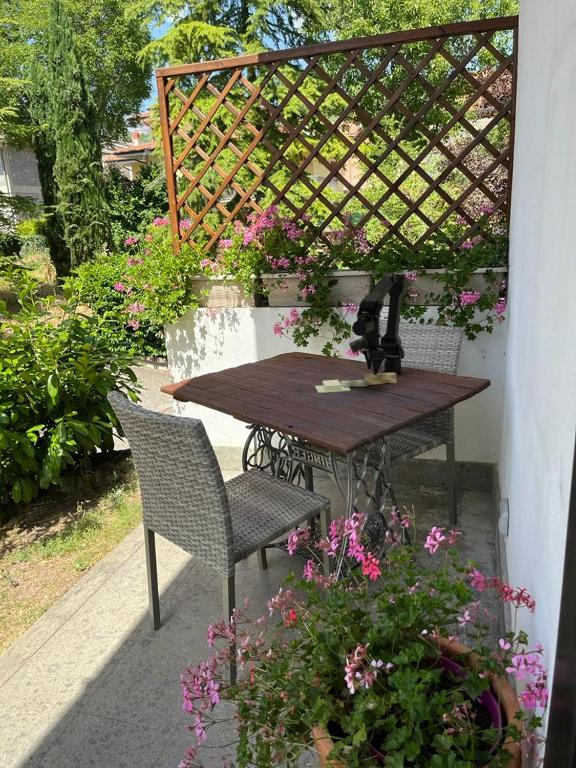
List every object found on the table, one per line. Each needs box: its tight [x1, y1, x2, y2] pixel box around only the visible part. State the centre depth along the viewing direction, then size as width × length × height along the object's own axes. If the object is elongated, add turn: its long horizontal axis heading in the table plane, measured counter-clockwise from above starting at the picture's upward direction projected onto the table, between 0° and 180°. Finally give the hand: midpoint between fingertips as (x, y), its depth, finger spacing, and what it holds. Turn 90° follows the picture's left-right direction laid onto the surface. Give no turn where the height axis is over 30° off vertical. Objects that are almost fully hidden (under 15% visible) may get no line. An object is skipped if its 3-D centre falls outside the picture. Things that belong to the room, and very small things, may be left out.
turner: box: [339, 372, 398, 388], centre depth 216 cm, size 21×7×4 cm, turn 95°
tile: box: [321, 379, 342, 390], centre depth 213 cm, size 6×2×8 cm
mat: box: [314, 384, 351, 394], centre depth 213 cm, size 12×9×1 cm
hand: (372, 371), depth 215 cm, fingers open, 9 cm apart
